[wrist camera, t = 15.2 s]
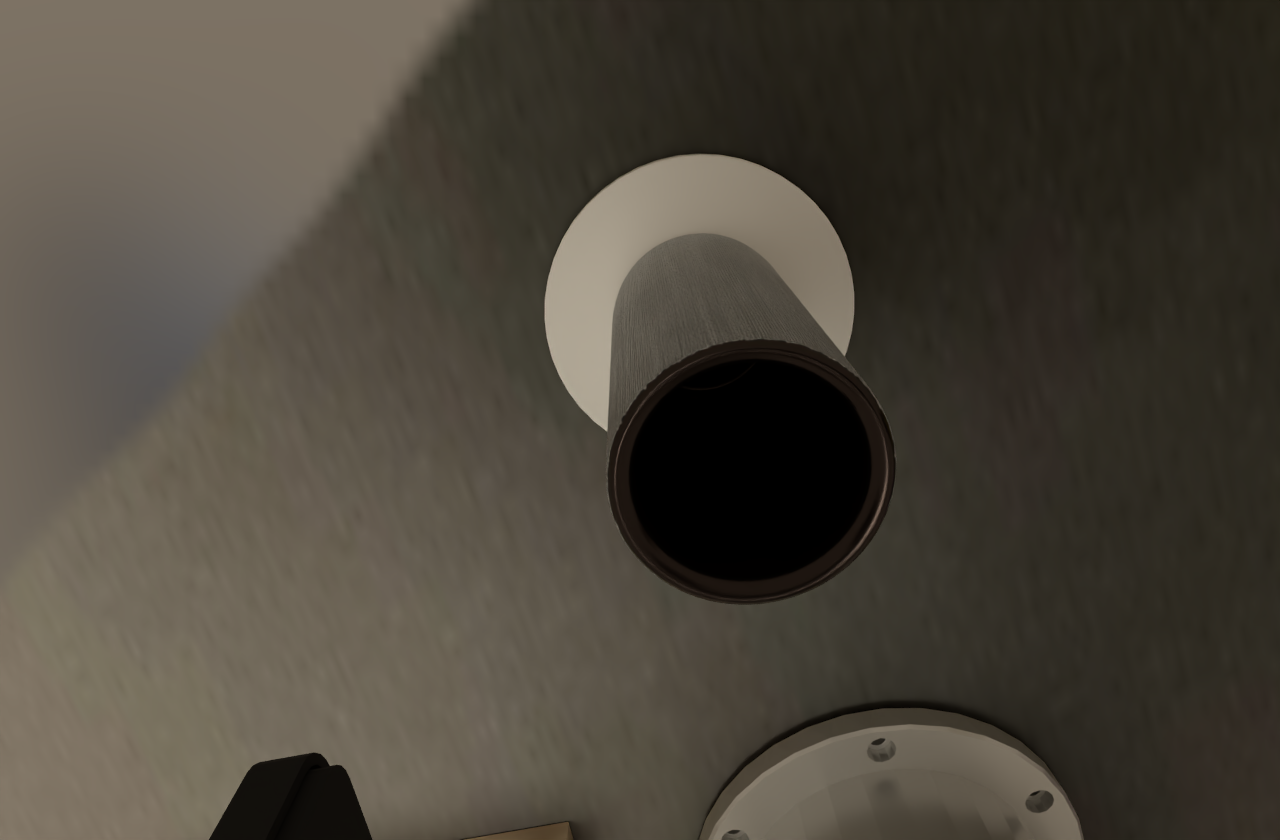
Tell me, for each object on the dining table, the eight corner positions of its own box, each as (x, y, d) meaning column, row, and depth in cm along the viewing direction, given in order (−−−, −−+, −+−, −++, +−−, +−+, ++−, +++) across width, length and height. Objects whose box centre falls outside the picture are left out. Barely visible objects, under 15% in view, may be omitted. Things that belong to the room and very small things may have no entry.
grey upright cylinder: (779, 405, 25) (879, 611, 15) (610, 400, 25) (602, 605, 15) (795, 234, 23) (918, 343, 14) (615, 228, 23) (609, 333, 13)
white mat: (901, 224, 24) (908, 227, 23) (772, 489, 26) (776, 498, 26) (610, 102, 23) (610, 103, 22) (504, 392, 25) (502, 399, 25)
